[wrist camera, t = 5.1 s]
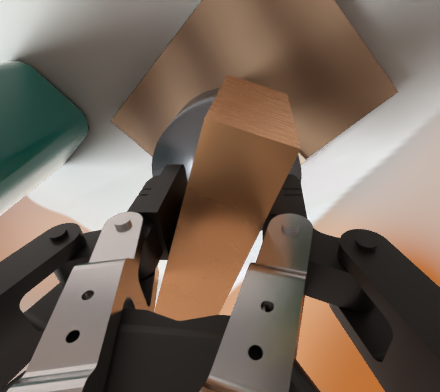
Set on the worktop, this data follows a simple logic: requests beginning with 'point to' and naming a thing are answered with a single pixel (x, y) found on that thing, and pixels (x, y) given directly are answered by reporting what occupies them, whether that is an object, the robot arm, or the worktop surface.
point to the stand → (263, 68)
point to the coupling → (222, 188)
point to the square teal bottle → (33, 131)
